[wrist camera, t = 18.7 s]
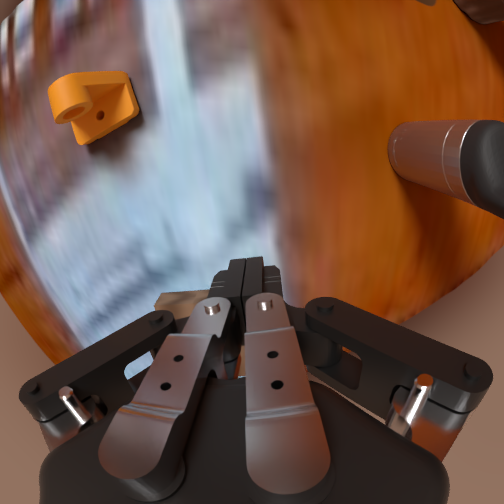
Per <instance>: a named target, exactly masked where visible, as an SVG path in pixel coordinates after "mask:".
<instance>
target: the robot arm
mask: <svg viewBox="0 0 504 504" xmlns="http://www.w3.org/2000/svg"><path fill="white" fill-rule="evenodd" d="M388 155H389V160H390V163H391V165H392V167H393V169H394V170H395V171H396V173H397V174H398V175H399V176H401V177H402V178H403V179H405V180H408V181H411V182H414V183H417V184H419V185H422V186H425V187H428V188H431V189H433V190H436V191H439V192H442V193H444V194H447V195H450V196H452V197H455V198H457V199H460V200H462V201H465V202H467V203H470V204H472V205H475V206H477V207H479V208H481V209H484V210H486V211H488V212H490V213H492V214H494V215H496V216H498V217H500V218H502V219H504V123H503V122H500V121H496V120H440V121H418V122H407V123H403V124H401V125H399V126H398V127H397V128H395V130H394V131H393V132H392V134H391V136H390V139H389V143H388ZM241 346H245V374H246V377H242V378H238V374H239V370H240V365H241V354H240V352H241ZM343 347H345V348H347V349H349V350H351V351H353V352H355V353H356V354H357V355H358V356H359V357H360V358H361V360H362V361H361V360H359V359H358V358H356V357H354V356H352V355H350V354H348V353H347V352H345V351H343V350H342V348H343ZM148 351H150V353H151V355H152V357H153V360H154V361H153V363H152V364H151V365H150V366H149V367H147V368H146V369H144V370H143V371H141V372H140V373H138V374H136V375H135V376H133V377H132V378H130V379H128V380H127V379H126V377H125V375H124V370H125V367H126V366H127V365H128V364H129V363H131V362H132V361H134V360H136V359H137V358H139V357H140V356H142V355H144V354H145V353H147V352H148ZM304 365H306V367H307V370H308V371H309V372H310V373H311V374H312V375H314V376H315V377H317V378H319V379H320V380H321V381H323V382H325V383H326V384H328V385H329V386H331V387H332V388H334V389H335V390H337V391H338V392H340V393H341V394H343V395H345V396H346V397H348V398H350V399H351V400H353V401H354V402H356V403H358V404H359V405H361V406H362V407H364V408H366V409H367V410H369V411H371V412H372V413H374V414H376V415H378V416H379V417H381V418H383V419H384V420H385V424H383V423H381V422H380V421H378V420H377V419H375V418H373V417H372V416H371V415H369V414H367V413H366V412H364V411H363V410H361V409H360V408H358V407H357V406H355V405H354V404H352V403H351V402H349V401H348V400H347V399H345V398H344V397H342V396H341V395H339V394H338V393H336V392H335V391H333V390H332V389H330V388H328V387H326V386H324V385H322V384H319V383H317V382H313V381H309V380H308V377H307V373H306V369H305V366H304ZM492 381H493V373H492V370H491V368H490V367H489V365H488V364H487V363H486V362H485V361H483V360H481V359H479V358H477V357H475V356H472V355H470V354H467V353H465V352H462V351H460V350H458V349H455V348H453V347H450V346H448V345H445V344H443V343H440V342H438V341H436V340H433V339H431V338H429V337H426V336H424V335H421V334H419V333H416V332H414V331H412V330H409V329H407V328H405V327H402V326H400V325H397V324H395V323H393V322H390V321H388V320H386V319H383V318H381V317H379V316H376V315H374V314H371V313H369V312H367V311H364V310H362V309H360V308H357V307H355V306H353V305H350V304H348V303H346V302H343V301H341V300H339V299H336V298H332V297H320V298H316V299H313V300H311V301H310V302H308V303H307V304H306V306H305V308H296V307H293V306H290V305H288V304H287V303H286V302H285V301H284V300H283V293H282V285H281V276H280V270H279V269H278V268H277V267H276V266H275V265H273V266H264V263H263V257H252V258H247V260H246V258H242V259H233V260H230V263H229V267H228V270H223V271H220V272H218V273H217V274H216V275H215V276H214V279H213V281H212V284H211V288H210V290H209V293H208V296H207V299H205V300H202V301H201V302H199V303H198V304H197V305H196V306H195V307H194V309H193V311H192V313H191V315H190V316H188V317H185V318H180V319H176V320H175V318H174V315H173V313H172V312H170V311H168V310H157V311H153V312H150V313H148V314H146V315H144V316H143V317H141V318H139V319H137V320H135V321H134V322H132V323H130V324H128V325H127V326H125V327H123V328H121V329H119V330H118V331H116V332H114V333H112V334H111V335H109V336H107V337H105V338H103V339H102V340H100V341H98V342H96V343H94V344H93V345H91V346H89V347H87V348H86V349H84V350H82V351H80V352H78V353H77V354H75V355H73V356H71V357H69V358H68V359H66V360H64V361H62V362H60V363H59V364H57V365H55V366H53V367H52V368H50V369H48V370H46V371H45V372H43V373H41V374H39V375H37V376H35V377H34V378H32V379H30V380H28V381H27V382H26V383H25V384H24V385H23V386H22V388H21V390H20V392H19V399H20V401H21V402H22V404H23V405H24V406H25V407H26V408H27V410H28V411H29V412H30V413H31V415H32V416H33V418H34V420H35V421H36V422H37V423H38V424H39V425H40V428H41V431H42V434H43V436H44V439H45V441H46V444H47V446H48V449H49V451H50V453H49V454H48V455H47V457H46V458H45V459H44V461H43V463H42V465H41V469H40V474H39V485H40V503H39V504H447V501H448V497H449V490H450V489H449V488H450V484H449V477H448V474H447V471H446V469H445V467H444V465H443V464H442V461H443V459H444V458H445V456H446V455H447V453H448V452H449V450H450V448H451V447H452V445H453V443H454V441H455V440H456V438H457V436H458V434H459V433H460V431H461V430H462V429H463V427H464V426H465V424H466V423H467V422H468V420H469V419H470V417H471V416H472V414H473V413H474V411H475V410H476V408H477V407H478V405H479V403H480V402H481V400H482V399H483V397H484V395H485V394H486V392H487V390H488V389H489V387H490V385H491V383H492Z"/></svg>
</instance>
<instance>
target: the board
mask: <svg viewBox="0 0 504 504" xmlns="http://www.w3.org/2000/svg"><path fill="white" fill-rule="evenodd" d="M208 293H209V290H197V291H184V292H169V293H161V295H160V297H159V298H158V300H157V301H156V303H155V305H154V307H155V310H156V311H157V310H168V311H170V312H172V313H173V315H174V318H175V320H176V319H180V318H185V317H188V316H190V315H191V313H192V311H193V309H194V307H195V306H196V305H197V304H198V303H199V302H201V301H202V300H205V299H207V296H208ZM240 354H241V365H240V370H239V374H238V376H246V374H245V346H241V352H240Z"/></svg>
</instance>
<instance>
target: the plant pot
mask: <svg viewBox="0 0 504 504" xmlns="http://www.w3.org/2000/svg"><path fill="white" fill-rule="evenodd" d="M454 2H455V3H456V4H457V5H458V7H459V8H460V9H461V10H462V11H464V12H466V13H467V14H468V15H469V17H470V18H471V19H472V20H474V21H476V22H478V23H480V24H489V23H494V22H499V21H504V0H454Z"/></svg>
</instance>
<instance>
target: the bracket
mask: <svg viewBox="0 0 504 504" xmlns="http://www.w3.org/2000/svg"><path fill="white" fill-rule="evenodd" d="M48 95H49V100H50V104H51V108H52V112H53V116H54V120H55V123H57V124H64V123H68V122H71V123H72V127H73V130H74V133H75V137H76V140H77V142H78V144H80V145H84V144H90V143H92V142H93V141H95V140H96V139H100V138H102V137H103V136H105V135H107V134H108V133H110V132H112V131H113V130H115V129H117V128H118V127H120V126H122V125H124V124H125V123H127V122H128V120H130V119H132V118H133V117H135V116H136V115H137V114H138V112H139V107H138V104H137V101H136V98H135V95H134V92H133V89H132V86H131V83H130V80H129V77H128V74H127V73H125V72H123V71H98V72H79V73H72V74H68V75H65V76H63V77H61V78H59V79H58V80H56V81H55V82H54V83H53V84H52V85H51V86H50V87H49V89H48Z"/></svg>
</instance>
